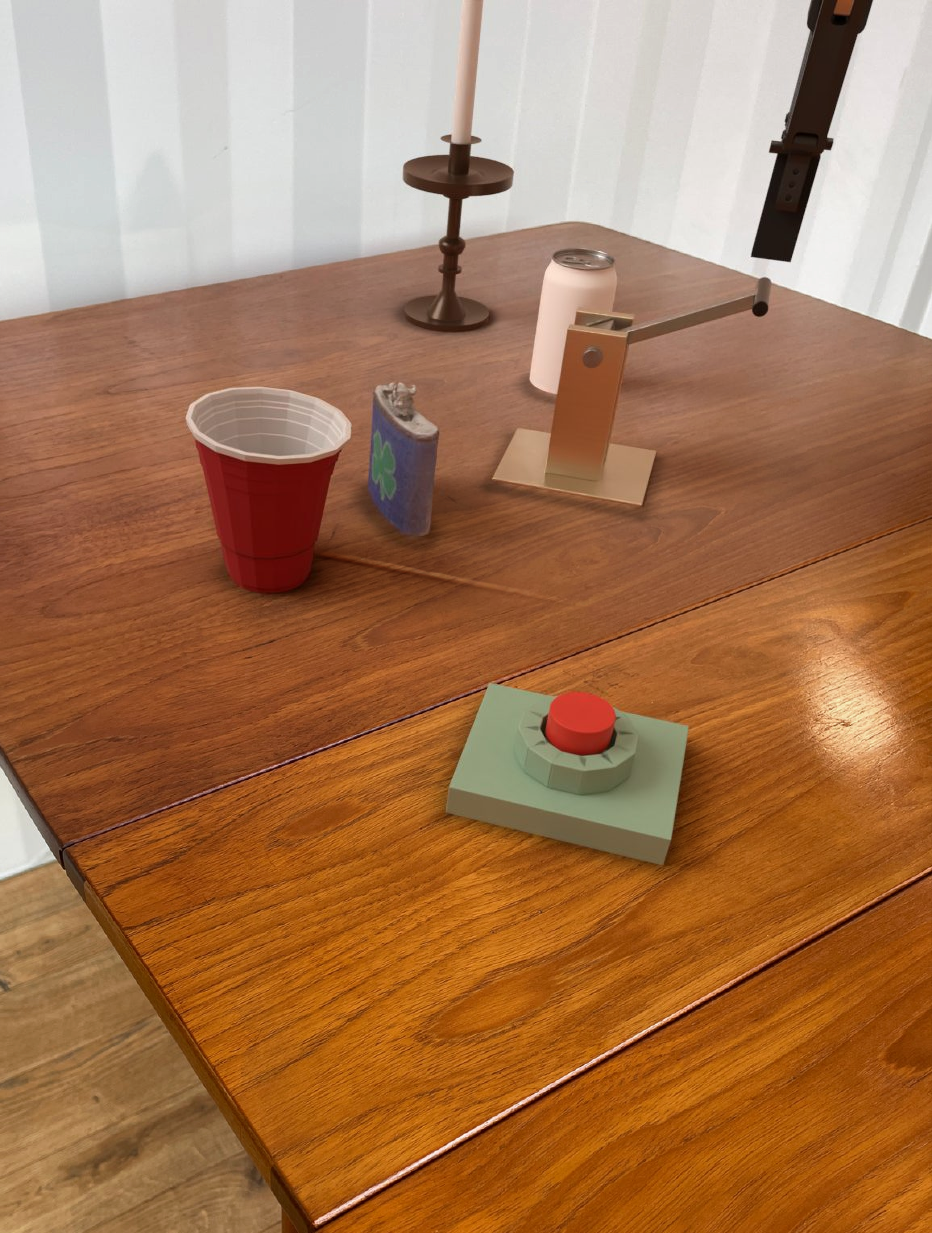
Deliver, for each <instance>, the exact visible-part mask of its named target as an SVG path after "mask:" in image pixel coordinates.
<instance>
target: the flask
mask: <svg viewBox="0 0 932 1233" xmlns="http://www.w3.org/2000/svg"><path fill="white" fill-rule="evenodd" d="M396 384H397V385H396ZM411 386H412V387H411V388H408V387H407V384H405V383H404V382H397V383H396V382H391V383H389V384H379V385H377V386H376V387H375V388H374V389H373V393H372V394H373V398H372V415H371V417H372V418H371V433H370V447H369V448H370V450H369V462H368V466H369V468H368V475H367V486H366V487H367V490H368V493H369V495H370V498H371V500H372V502H373V504H374V505H375V506H376V508H377V509H378V511H379V512H380V513H381V515H382V516H383V517H384V518H385V519H386V520H387V521H388V522H389V523H390V524H391V526H393V527H395V528H396V529H397V530H398V531H399V532H401V533H403V534H404V535H407V536H410V537H423V536H426V535H428V534H429V533H430V531H431V525H432V512H433V493H434V488H435V473H436V466H437V457H438V446H439V440H440V439H439V438H440V429H439V427H438V426H437V425H436V424H434V422H431V420H429V419H427V418H426V417H425V416H424V415H423V414H422V413H421V412H420V411H419V410H418V409H417V408H416V407H415V406H414V403H415V401H414V398H413V397H414V396H416V395H417V392H418V391H417V385H415V384H412V385H411Z"/></svg>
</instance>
